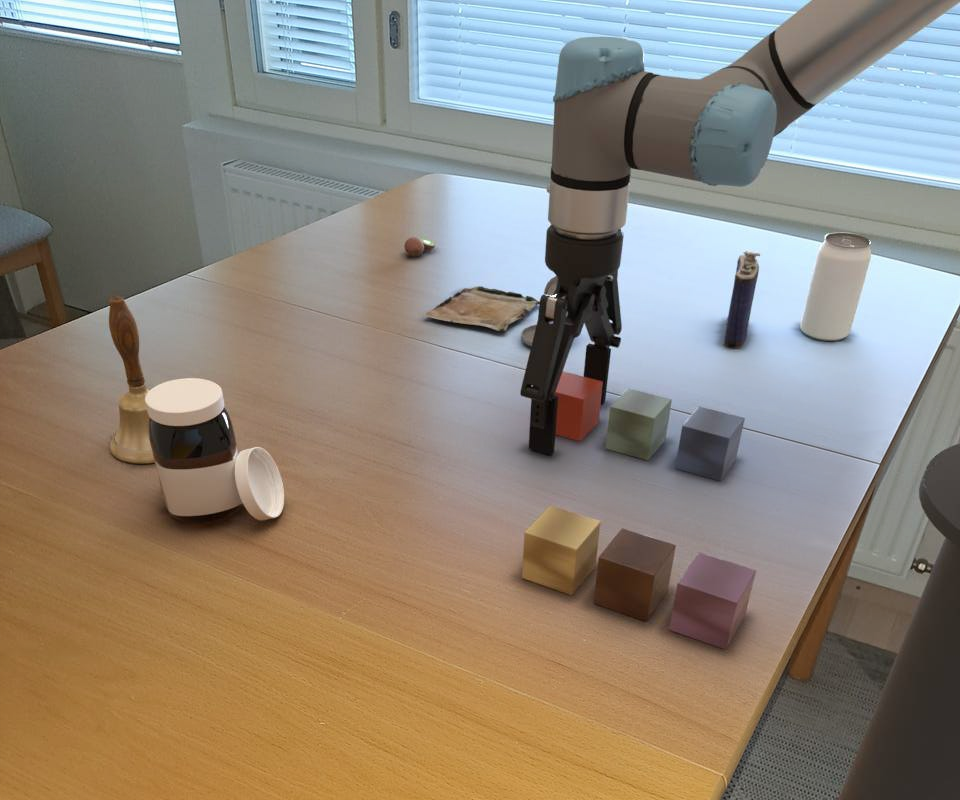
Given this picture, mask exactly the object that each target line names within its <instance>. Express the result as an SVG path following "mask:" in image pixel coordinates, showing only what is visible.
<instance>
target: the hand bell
mask: <svg viewBox="0 0 960 800" xmlns="http://www.w3.org/2000/svg"><path fill="white" fill-rule="evenodd" d="M108 328H109V332H110V337H111V339H112V342H113V344H114V347H115V348H116V351H117V353H119V355H120V357H121V360H122V362H123V366H124V371H125V376H126V382H127V385H128V390H129V391H128V392H126V393H124V394H122V395H121V396H120V397H119V399H118V403H117V404H118V411H119V423H118V429H117V431H116V433H115V434H114V435H113V437H112V438H111V441H110V443H109V451H110V453H111V454H112V455H113V457H115V458H116V459H118V460H120V461H123V462H125V463H129V464H130V463H131V464H140V465H141V464H142V465H143V464H155V461H154V457H153V453H152V452H150V453H130V452H126V451H123V450H120V449H119V448H117V447H116V446H115V444H114V442H113V439H114V437H115V441H116V442H117V443H118V444H119V445H120V446H122V447H125V448H128V449H131V450H134V451H135V450H136V451H137V450H138V451H145V450H146V451H149V450H152V448H151V444H150V438H149V430H148V424H149V418H150V417H149V414H148V411H147V407H146V403H145V396H146V394H147V393H148V392H149V391H150V390H151V389H148V388H147V385H146V380H145V377H144V372H143V370H142V366H141V362H140V334H139V329H138V326H137V322H136V319H135V317H134V315H133V313H132V312H131V309H129V306H128V305H127V303H126V300H125V299H124V297H123V296H118V295H116V296H112V297H110V298H109V313H108ZM115 435H116V436H115Z"/></svg>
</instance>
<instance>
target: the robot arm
mask: <svg viewBox="0 0 960 800" xmlns="http://www.w3.org/2000/svg"><path fill="white" fill-rule="evenodd" d="M959 4H960V0H810V1H808V2H807V3H806V4H804V5H803V6H802V7H801V8H800V9H798V10H797V11H796V12H795V13H794V14H793V15H791V16H790V17H789V18H787V20H785V21H783V22H782V23H781V24H780V25H779V26H778V27H776V28H775V29H774V30H773V31H772V32H770V33H769V34H767V35H766V36H764V38H762V39H761V40H760V41H758V42H757V43H756V44H755V45H754V46H752V47H751V48H750V49H749V50H747V51H746V52H745V53H744V54H742V55H741V56H740V57H739V58H737V59H736V60H734V61H733V62H732V63H730V64H729V65H727V66H725V67H722V68H720V69H719V70H716V71H715V72H712V73H710V74H708V75H706V76H703V77H702V78H701V77H700V78H687V77H678V76H670V75H661V74H657V73H654V72H650V71H645V70H646V69H645V66H646V64H645V49H644V47H643V46H642V44H641V43H640V42H638V41H635V40H628V39H627V38H623V37H616V36H615V37H614V36H585V37H578V38H575V39H572V40H569V41H568V42H566V43H565V44H564V46H563V47H562V48H561V50H560V53H559V55H558V64H557V71H556V72H557V73H556V82H555V91H554V95H553V96H552V103H554V105H553V106H554V108H553V128H552V129H553V130H552V149H551V150H552V151H551V167H550V180H549V183H548V184H547V186H546V193H548V194H549V196H548V213H547V221H548V222H549V223H550V225H549V226H548V228H547V229H546V235H545V236H546V237H545V252H544V264H545V266H546V267H547V268H548V270H550V271H551V272H552V273H554V274H555V276H557V278H558V281H557V286H556V290H555V293H554V296H549V295H545V294H544V293H543V294H541V296H540V299H539V302H540V304H538V305H539V306H538V315H537V321H536V324H535V325H536V329H535V334H534V338H533V342H532V346H530V351H529V355H528V359H527V362H526V367H525V371H524V375H523V379H522V383H521V388H520V392H519V393H520V394H519V395H520V396H521V397H524V398H526V399H530V416H529V431H528V433H529V434H528V449H529V450H532V451H534V452H535V451H536V452H538V453H541V454H546V455H548V456H552V455H553V454H554V453H555V445H556V421H557V408H558V396H555V395H554V394H555V392H556V389H557V386H558V383H559V380H560V377H561V374H562V371H563V372H564V369H565V366H566V362H567V360H568V357H569V354H570V351H571V348H572V345H573V342H574V340H575V338H578V337H580V335H581V333H582V331H583V328H584V326H585V329H586V331H587V335H588V337H589V340H590V342H592V343H590V342H589V343H588V344H587V345H586V346H585V355H584V368H583V377H587V378H591V379H595V380H599V381H602V382H603V387H602V396H601V406H603V405H604V404H605V403H606V399H607V398H606V397H607V388H608V381H609V372H610V364H611V353H612V348H615V349H618V348H619V347H620V345H621V342H622V337H620V336H619V335H620V334H621V332H622V329H623V325H622V316H621V315H622V314H621V302H620V294H619V292H620V291H619V281H618V277H619V276H618V275H619V269H620V267H621V263H622V253H623V245H624V237H625V235H624V232H623V231H622V228H623V227H625V225H626V223H627V215H628V214H627V213H628V206H629V205H628V203H629V195H630V185H631V174H632V170H638V171H644V172H648V173H654V174H658V175H665V176H669V177H674V178H678V179H684V180H690V181H695V182H699V183H702V184H705V185H707V186H710V187H711V186H713V187H716V186H729V187H742V188H743V187H746V186H748V185H750V184H752V183H753V182H755V180H756V179H757V178H758V177H759V175H760V174H761V169H762V168H764V167H765V164H766V162H767V160H768V157H769V155H770V152H771V148H772V145H773V140H774V137H776V136H778V135H779V134H781V133H782V132H784V131H785V130H786V129H787V128H788V127H789V125H791V124H792V123H793V122H796V120H798V119H799V118H801V117H802V116H803V115H805V114H806V113H807V112H809V111H811V110H812V109H813V108H814V107H815V106H817V105H818V104H819V103H821V102H823V100H825V99H826V98H828V97H829V96H831V95H832V94H833V93H835V92H837V90H839V89H840V88H842V87H843V86H845V85H846V84H848V83H849V82H850V81H852V80H853V79H854V78H856V77H858V76H859V75H860V74H861V73H863V72H864V71H865V70H867V69H868V68H870V67H871V66H873V65H874V64H875V63H877V62H878V61H880V60H881V59H883V58H884V57H885V56H887V55H888V54H890V53H891V52H892V51H893V50H896V49H897V48H898V47H899V46H901V45H903V43H905V42H906V41H908V40H909V39H910V38H912V37H914V36H915V35H916V34H918V33H919V32H920V31H922V30H923V29H925V28H926V27H927V26H929V25H930V24H932V23H933V22H935V21H936V20H937V19H939V18H940V17H941V16H943V15H944V14H946V13H947V12H949V11H950V10H951V9H952V8H954V7H956V6H957V5H959ZM568 324H569V325H568ZM611 347H612V348H611Z"/></svg>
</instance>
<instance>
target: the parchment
mask: <svg viewBox="0 0 960 800" xmlns="http://www.w3.org/2000/svg"><path fill="white" fill-rule="evenodd" d="M539 304H540V300H539V301H538V300H537V299H536V298H534V297H532V296H529V295H526V296H523V294H521V293H517V292H513V291H504V290H500V289H496V288H488V287H484V286H482V285H481V286H479V285H478V286H475V287H472V288H465V287H464V288H463V289H461V291H458V292H456V293H455V294H454V295H453V296H449V297H448V298H447V299H445V300H443V302H441V303H439V304H438V305H437V306H436V307H434V308H433V309H431V310H429V311H428V312H426V313H425V314H424V315H423V316H424V317H428V318H431V319H435V320H439V321H445V322H450V323H457V324H463V325H472V326H473V325H474V326H481V327H486V328H489V329H491V330H494V331H497V332H501V331H504V332H507V330H508V327H509V325H511V324H513V323H514V322H516V321H518V320H521V319H523V318H526V317H527V313H530V312H531V311H532V310H533V308H535V307H536V306H538V305H539Z"/></svg>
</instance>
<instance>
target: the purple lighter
mask: <svg viewBox="0 0 960 800" xmlns="http://www.w3.org/2000/svg"><path fill="white" fill-rule="evenodd" d="M760 256H761V253H760V252H752V251H750V252H749V251H747V250H746V251H743V254H741V255H739V257H738V258H737V261H736V262H737V263H736V269H735V275H734V282H733V287H732V292H731V297H730V304H729V309H728V314H727V318H726V324H725V326H726V327H725V330H724V333H725V334H724V338H723V345H724V346H725V347H727V348H730V349H739V348H742V346H743V345H744V344H745V342H746V340H747V335H748V328H749V323H750V317H751V313H752V307H753V302H754V297H755V292H756V286H757V282H758V277H759V271H760V265H759V261H758V259H757V258H756V257H760Z"/></svg>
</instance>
